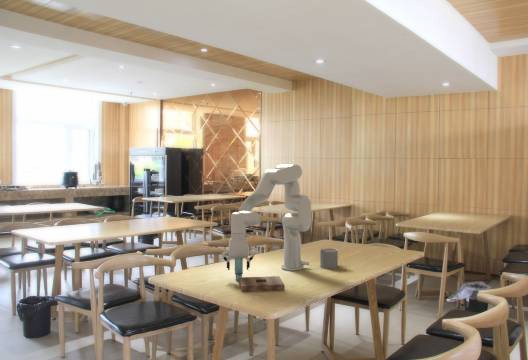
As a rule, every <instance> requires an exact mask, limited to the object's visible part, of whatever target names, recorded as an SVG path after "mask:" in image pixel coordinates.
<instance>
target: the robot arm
mask: <svg viewBox="0 0 528 360" xmlns="http://www.w3.org/2000/svg"><path fill="white" fill-rule="evenodd" d="M302 174H303V170H302V167H301V166H300V165H298V164H295V163H292V164H290V163H286V164H285V163H283V164H282V163H281V164H278V165H276V166H275V168H269V169H266V170H264V171H263V173H262V175H261V178H260V180H259V182H258V183H257V186H256V188H255V189H254V191H253V192H252V193H251V194H249V196H248V197H247V198H246V199H244V200H243V202H241V205H240V207H239V209H238V211H235V212H232V213H231V215H230V216H231V217H230V224H231V225H230V238H229V241H228V249H227V250H225V251H223V252H221V257H222V258H223V260H224V261H225V262H226V269H227V271H230V270H231V268H230V265H231V262H230V261H231V260H232V259H233V260H235V259H237V258H241V259H243V260H244V259H245V260H246V270H247V271H249V269H250V266H251V265H250V264H251V261H252V260H253V259H254V257H255V255H256V253H255V252H254V251H252V250H250V249H249V244H248V237H249V233H247V230H246V229H247V226H249V227H250V226H251V227H255V226H258V225H259V224H260V223H261V220H262V218H261V215H260V213H258V212H257V211H252V210H253V209H254V208H255V207H256V206H258V205H259V204H262V203H263V202H266V201H267V200H269V198H270V197H271V194H272V192H273V190H274V188H275V186H281V185H284V186H283V187H284V207H285V209H286V210H288V211H292V212H290V213H286V214H284V216H283V217H282V221H281V222H282V223H281V224H282V228H283V265H281V269H282V270H284V271H291V272H292V271H293V272H294V271H302V270H304V266H310V261H306V260H305V261H303V260H302V240H301V237H302V236H301V234H300V233H301V232H307V231H309V230H310V228H311V226H312V202H311V199H310V198H309V196H308V195H305V194H301V193H300V191H301V190H300V183H299V181H298V180H299V179H300V178H301V177H302ZM294 212H296V213H294ZM226 254H227V255H228V257H226V256H225V255H226ZM249 254H250V256H249Z"/></svg>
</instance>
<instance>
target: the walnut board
mask: <svg viewBox="0 0 528 360" xmlns="http://www.w3.org/2000/svg"><path fill="white" fill-rule="evenodd" d="M239 286H240V291H241V293H259V292H260V293H261V292H262V293H263V292H284V291H285V283H284V281H283V280H282V279H281V276H279V275H277V276H242V277H240V281H239Z"/></svg>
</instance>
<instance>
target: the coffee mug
mask: <svg viewBox="0 0 528 360" xmlns="http://www.w3.org/2000/svg"><path fill="white" fill-rule="evenodd" d="M338 252H339V250H338V248H332V247H331V248H330V247H329V248H328V247H326V248H320V250H319V253H320V254H319V256H320V257H319V260H320V261H319V263H320V264H319V267H320V268H322V269H325V270H327V269H328V270H333V269H338V267H339V265H338V263H339V262H338V260H339V256H338V254H339V253H338Z"/></svg>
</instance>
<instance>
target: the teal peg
mask: <svg viewBox="0 0 528 360" xmlns="http://www.w3.org/2000/svg"><path fill="white" fill-rule="evenodd" d="M243 261H244V259H241V258H237V259H234V275H235V281H238V282H240V277H243V274H244V272H243V271H244V270H243V268H244V267H243V265H244V264H243Z"/></svg>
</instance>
